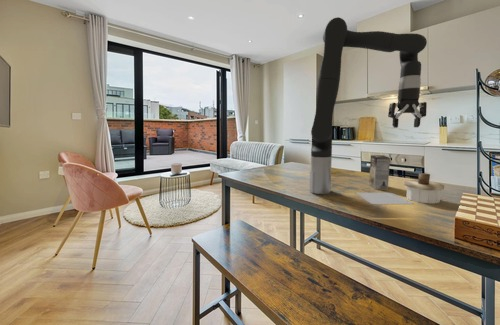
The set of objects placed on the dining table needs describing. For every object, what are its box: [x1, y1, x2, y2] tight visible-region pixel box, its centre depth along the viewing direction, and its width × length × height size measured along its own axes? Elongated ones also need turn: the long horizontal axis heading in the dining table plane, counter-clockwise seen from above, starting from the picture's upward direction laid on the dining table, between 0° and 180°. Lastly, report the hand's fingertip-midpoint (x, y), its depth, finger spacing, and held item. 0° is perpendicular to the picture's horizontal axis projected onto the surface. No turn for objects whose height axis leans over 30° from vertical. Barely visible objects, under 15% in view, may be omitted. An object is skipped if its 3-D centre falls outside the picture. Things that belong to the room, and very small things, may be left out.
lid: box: [404, 172, 445, 191], centre depth 94 cm, size 13×13×5 cm
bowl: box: [405, 186, 442, 204], centre depth 95 cm, size 11×11×6 cm
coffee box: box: [368, 154, 391, 191], centre depth 115 cm, size 9×6×16 cm
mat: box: [355, 192, 415, 205], centre depth 98 cm, size 16×16×1 cm
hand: (405, 127), depth 99 cm, fingers open, 8 cm apart
